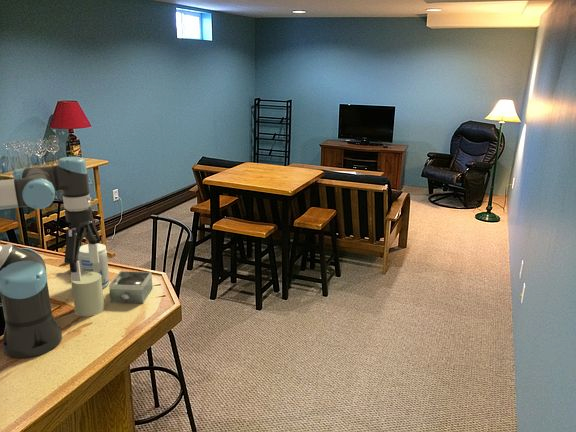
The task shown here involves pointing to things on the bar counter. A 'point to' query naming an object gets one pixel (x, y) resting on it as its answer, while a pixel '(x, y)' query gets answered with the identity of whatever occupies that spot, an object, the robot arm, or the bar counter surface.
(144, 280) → the grey open box
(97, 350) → the bar counter surface
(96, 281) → the can
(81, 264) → the supplement tub
